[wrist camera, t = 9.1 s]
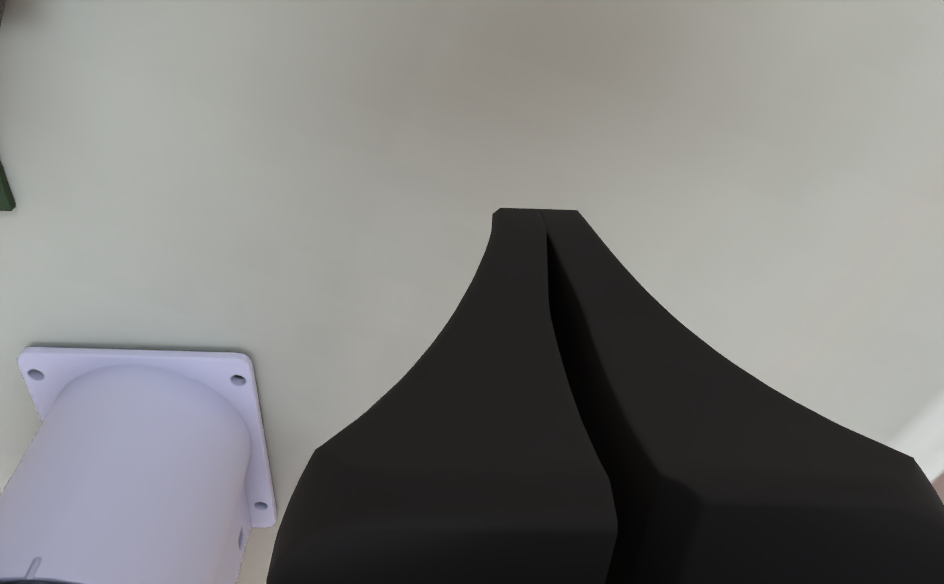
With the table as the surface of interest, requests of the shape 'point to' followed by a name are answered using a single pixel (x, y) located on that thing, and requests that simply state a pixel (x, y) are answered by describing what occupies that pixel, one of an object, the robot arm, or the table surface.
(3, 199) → the mat
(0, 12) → the beverage cup
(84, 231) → the table surface
